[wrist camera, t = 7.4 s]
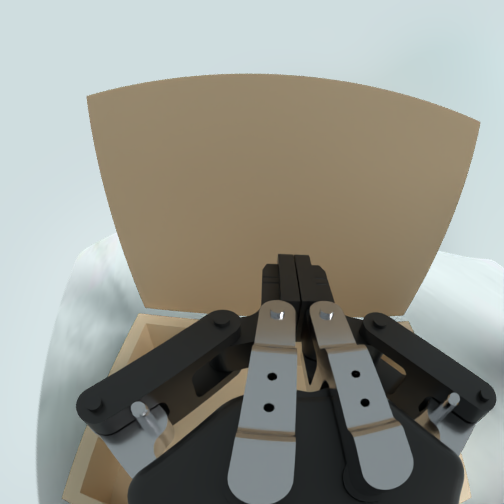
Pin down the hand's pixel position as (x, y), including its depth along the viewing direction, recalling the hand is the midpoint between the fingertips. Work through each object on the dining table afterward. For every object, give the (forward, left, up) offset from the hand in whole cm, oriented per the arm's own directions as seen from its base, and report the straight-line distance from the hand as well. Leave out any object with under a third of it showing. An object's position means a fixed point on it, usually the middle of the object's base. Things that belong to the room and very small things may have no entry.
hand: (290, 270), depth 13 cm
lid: (-1, -2, +1) cm, 3 cm away
